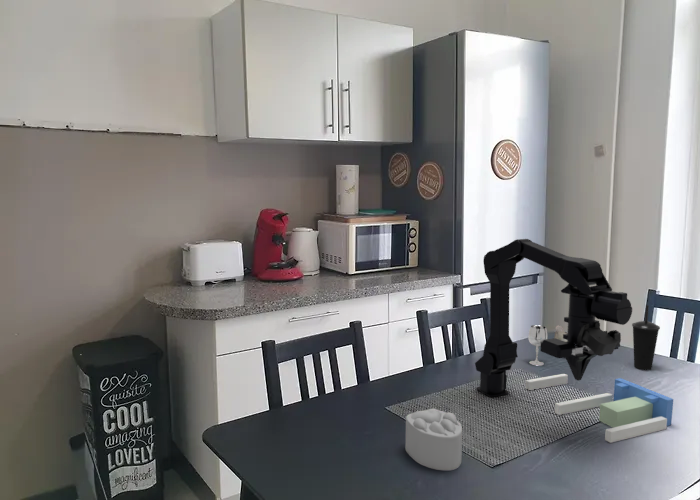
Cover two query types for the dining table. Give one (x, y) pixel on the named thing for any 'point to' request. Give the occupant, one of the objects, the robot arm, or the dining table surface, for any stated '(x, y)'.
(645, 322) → the drinking cup
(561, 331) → the decorative bird
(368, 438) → the dining table surface
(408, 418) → the lumpy-topped squat cylinder
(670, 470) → the dining table surface
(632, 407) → the plug block
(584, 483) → the dining table surface
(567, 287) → the robot arm
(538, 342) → the wineglass
